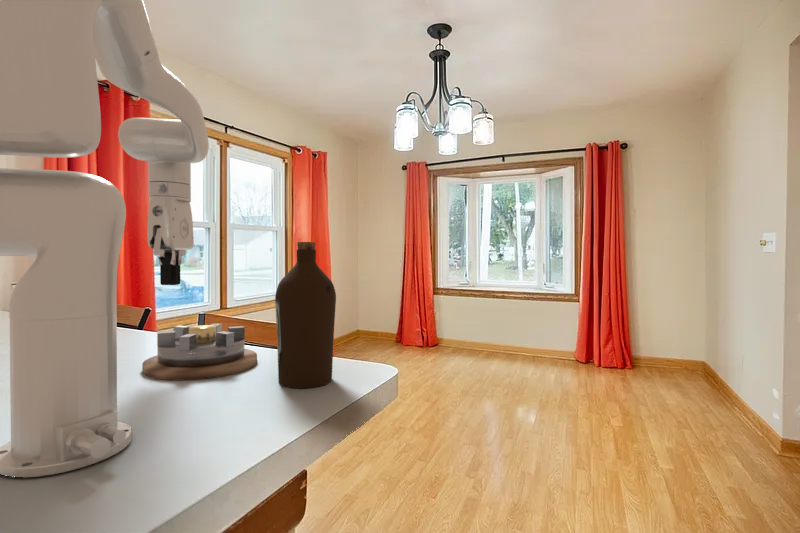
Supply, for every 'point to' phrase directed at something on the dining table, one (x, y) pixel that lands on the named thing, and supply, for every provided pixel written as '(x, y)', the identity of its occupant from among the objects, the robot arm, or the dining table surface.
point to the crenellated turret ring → (200, 345)
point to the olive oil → (305, 323)
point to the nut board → (198, 368)
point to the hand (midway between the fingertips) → (170, 284)
